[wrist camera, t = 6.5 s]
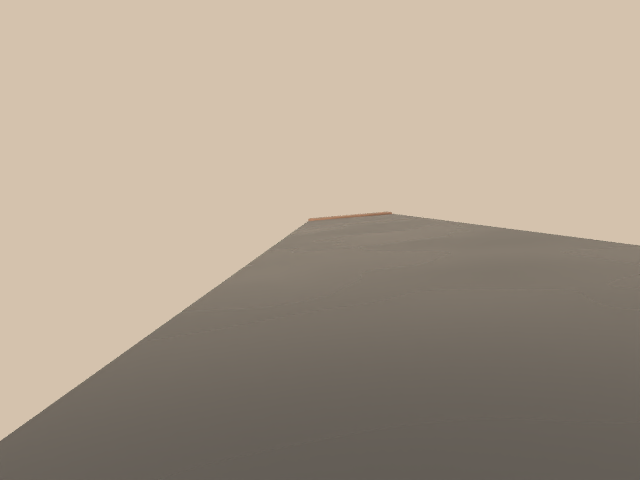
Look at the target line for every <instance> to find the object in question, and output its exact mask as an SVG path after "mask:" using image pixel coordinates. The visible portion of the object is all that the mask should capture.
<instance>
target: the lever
mask: <svg viewBox="0 0 640 480" xmlns="http://www.w3.org/2000/svg"><path fill="white" fill-rule="evenodd" d="M0 480H640V246H638V245H630V244H622V243H615V242H606V241H599V240H592V239H584V238H576V237H568V236H561V235H553V234H545V233H537V232H529V231H521V230H514V229H506V228H498V227H491V226H483V225H475V224H467V223H459V222H451V221H444V220H436V219H428V218H421V217H413V216H405V215H396V214H392V213H391V212H379V213H367V214H355V215H344V216H332V217H321V218H310V219H309V221H308V222H307V223H305V224H304V225H302V226H301V227H299V228H298V229H297V230H295V231H294V232H292V233H291V234H290V235H288V236H287V237H285V238H284V239H283V240H281V241H280V242H278V243H277V244H276V245H274V246H273V247H271V248H270V249H269V250H267V251H266V252H265V253H263V254H262V255H260V256H259V257H258V258H256V259H255V260H253V261H252V262H250V263H249V264H248V265H246V266H245V267H243V268H242V269H241V270H239V271H238V272H236V273H235V274H234V275H232V276H231V277H230V278H228V279H227V280H225V281H224V282H222V283H221V284H220V285H218V286H217V287H216V288H214V289H213V290H211V291H210V292H208V293H207V294H206V295H204V296H203V297H201V298H200V299H199V300H197V301H196V302H195V303H193V304H192V305H190V306H189V307H187V308H186V309H185V310H183V311H182V312H181V313H179V314H178V315H176V316H175V317H173V318H172V319H171V320H169V321H168V322H166V323H165V324H164V325H162V326H161V327H159V328H158V329H157V330H155V331H154V332H153V333H151V334H150V335H148V336H147V337H145V338H144V339H143V340H141V341H140V342H138V343H137V344H136V345H134V346H133V347H131V348H130V349H129V350H127V351H126V352H124V353H123V354H122V355H120V356H119V357H117V358H116V359H115V360H113V361H112V362H110V363H109V364H108V365H106V366H105V367H104V368H102V369H101V370H99V371H98V372H96V373H95V374H94V375H92V376H91V377H89V378H88V379H87V380H85V381H84V382H82V383H81V384H80V385H78V386H77V387H75V388H74V389H72V390H71V391H70V392H68V393H67V394H65V395H64V396H63V397H61V398H60V399H59V400H57V401H56V402H54V403H53V404H51V405H50V406H49V407H47V408H46V409H45V410H43V411H42V412H40V413H39V414H38V415H36V416H35V417H33V418H32V419H30V420H29V421H28V422H26V423H25V424H23V425H22V426H21V427H19V428H18V429H16V430H15V431H14V432H12V433H11V434H10V435H8V436H7V437H5V438H4V439H3V440H1V441H0Z"/></svg>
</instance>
